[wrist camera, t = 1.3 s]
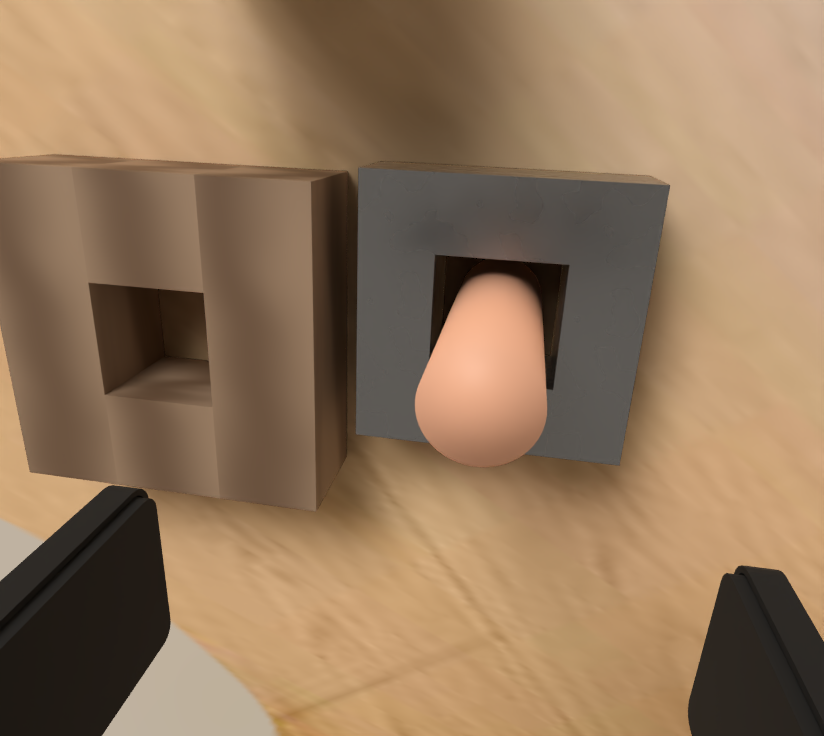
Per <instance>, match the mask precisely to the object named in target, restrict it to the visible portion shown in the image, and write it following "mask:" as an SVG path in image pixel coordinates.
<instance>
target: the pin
mask: <svg viewBox="0 0 824 736" xmlns="http://www.w3.org/2000/svg"><path fill="white" fill-rule="evenodd" d="M415 412H416V418H417V421H418V424H419V427H420V429H421V431H422V433H423V434H424V436H425V438H426V439H427V440H428V441H429V443H430V444H431V445H432V446H433V447H434V448H435V449H436V450H437V451H439V452H440V453H441V454H443V455H444V456H446V457H447V458H449V459H451V460H453V461H456V462H458V463H461V464H464V465H468V466H474V467H493V466H499V465H503V464H506V463H509V462H511V461H514V460H516V459H517V458H519V457H521V456H522V455H524V454H525V453H526V452H527V451H529V450H530V449H531V448H532V447H533V446H534V444H535V443H536V442H537V440H538V439H539V437H540V435H541V433H542V432H543V429H544V426H545V423H546V418H547V394H546V375H545V355H544V336H543V316H542V297H541V288H540V285H539V282H538V280H537V278H536V276H535V275H534V273H533V272H532V271H531V270H530V269H529V268H528V267H527V266H526V265H525V264H523V263H521V262H520V261H511V260H498V259H487V260H484V261H482V262H480V263H478V264H477V265H476V266H474V267H473V268H472V269H471V270H470V271H469V272H468V274H467V275H466V277H465V278H464V280H463V282H462V285H461V287H460V289H459V292H458V294H457V296H456V299H455V301H454V303H453V306H452V308H451V310H450V313H449V315H448V317H447V320H446V322H445V324H444V327H443V329H442V331H441V334H440V336H439V339H438V341H437V343H436V346H435V348H434V350H433V353H432V355H431V357H430V360H429V362H428V364H427V367H426V369H425V371H424V374H423V376H422V378H421V381H420V383H419V385H418V388H417V392H416V397H415Z"/></svg>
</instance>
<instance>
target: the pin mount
mask: <svg viewBox="0 0 824 736" xmlns="http://www.w3.org/2000/svg"><path fill="white" fill-rule="evenodd" d="M669 189H670V185H669V184H667V183H664V182H662V181H660V180H658V179H656V178H654V177H652V176H645V175H626V174H608V173H590V172H572V171H554V170H535V169H517V168H499V167H481V166H462V165H444V164H426V163H408V162H390V161H380V162H377V163H373V164H370V165H366V166H362V167H359V168H358V268H357V370H356V434H358V435H366V436H375V437H383V438H391V439H400V440H408V441H417V442H425V443H429V441H428V440H427V439H426V438H425V436H424V434H423V433H422V431H421V429H420V427H419V424H418V421H417V418H416V412H415V397H416V392H417V388H418V385H419V383H420V381H421V378H422V376H423V374H424V371H425V369H426V367H427V364H428V362H429V360H430V357H431V355H432V353H433V350H434V348H435V346H436V343H437V341H438V339H439V336H440V334H441V331H442V321H443V305H444V288H445V272H446V256H458V257H472V258H485V259H498V260H511V261H525V262H538V263H551V264H562V270H561V278H560V286H559V294H558V301H557V309H556V317H555V325H554V333H553V341H552V349H551V356H548V355H545V375H546V394H547V418H546V423H545V426H544V429H543V432H542V433H541V435H540V437H539V439H538V440H537V442H536V443H535V444H534V446H533V447H532V448H531V449H530V450H529V451H527V452H526V453H525V454H526V455H535V456H543V457H552V458H560V459H569V460H577V461H585V462H594V463H602V464H611V465H620V459H621V454H622V448H623V443H624V437H625V432H626V426H627V421H628V415H629V410H630V404H631V399H632V393H633V388H634V382H635V377H636V371H637V366H638V360H639V355H640V349H641V344H642V338H643V333H644V327H645V322H646V316H647V310H648V305H649V299H650V294H651V288H652V283H653V277H654V272H655V266H656V261H657V255H658V250H659V244H660V239H661V233H662V228H663V222H664V217H665V211H666V206H667V200H668V195H669Z"/></svg>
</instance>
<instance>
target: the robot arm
mask: <svg viewBox="0 0 824 736" xmlns="http://www.w3.org/2000/svg"><path fill="white" fill-rule="evenodd" d="M169 630H170V612H169V604H168V596H167V588H166V580H165V572H164V564H163V556H162V547H161V539H160V531H159V523H158V515H157V507H156V503H155V502H154V500H152V499H149V498H148V495H147V493H146V491H144V490H142V489H137V488H130V487H122V486H114V485H112V486H108V487H106V488H105V489H103V490H102V491H101V492H100V493H99V494H98V495H97V496H96V497H94V498H93V499H92V500H91V501H90V502H89V503H88V504H87V505H85V506H84V507H83V508H82V509H81V510H80V511H79V512H78V513H76V514H75V515H74V516H73V517H72V518H71V519H70V520H69V521H67V522H66V523H65V524H64V525H63V526H62V527H61V528H60V529H58V530H57V531H56V532H55V533H54V534H53V535H52V536H51V537H50V538H48V539H47V540H46V541H45V542H44V543H43V544H42V545H41V546H39V547H38V548H37V549H36V550H35V551H34V552H33V553H32V554H30V555H29V556H28V557H27V558H26V559H25V560H24V561H23V562H21V563H20V564H19V565H18V566H17V567H16V568H15V569H14V570H13V571H11V572H10V573H9V574H8V575H7V576H6V577H5V578H3V579H2V580H1V581H0V736H102V735H103V733H104V732H105V730H106V729H107V727H108V726H109V724H110V723H111V721H112V720H113V718H114V717H115V715H116V714H117V713H118V711H119V710H120V708H121V706H122V705H123V703H124V702H125V701H126V699H127V698H128V696H129V695H130V693H131V692H132V690H133V689H134V687H135V686H136V684H137V683H138V681H139V680H140V679H141V677H142V676H143V674H144V673H145V671H146V670H147V668H148V667H149V665H150V664H151V662H152V661H153V659H154V658H155V656H156V655H157V653H158V652H159V651H160V649H161V647H162V646H163V645H164V643H165V641H166V639H167V637H168V634H169ZM688 719H689V726H690V730H691V734H692V736H824V641H823V640H822V638H821V636H820V635H819V633H818V631H817V629H816V628H815V626H814V624H813V622H812V621H811V619H810V617H809V616H808V614H807V612H806V610H805V609H804V607H803V605H802V603H801V602H800V600H799V598H798V597H797V595H796V593H795V591H794V590H793V588H792V586H791V584H790V583H789V581H788V579H787V577H786V576H785V575H784V573H783V572H781V571H779V570H774V569H766V568H758V567H750V566H742V565H741V566H738V568H737V569H736V570H735V573H734V574H729V573H726V574H724V576H723V577H722V580H721V583H720V587H719V591H718V595H717V598H716V602H715V606H714V610H713V613H712V617H711V621H710V624H709V628H708V632H707V636H706V639H705V643H704V647H703V651H702V654H701V658H700V662H699V666H698V669H697V673H696V677H695V680H694V684H693V688H692V692H691V695H690V699H689V705H688Z"/></svg>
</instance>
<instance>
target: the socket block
mask: <svg viewBox="0 0 824 736" xmlns="http://www.w3.org/2000/svg"><path fill="white" fill-rule="evenodd" d="M347 185H348V171H333V170H315V169H298V168H281V167H263V166H246V165H229V164H211V163H194V162H177V161H159V160H142V159H125V158H107V157H90V156H73V155H55V154H53V155H40V156H26V157H12V158H0V326H1V331H2V336H3V341H4V346H5V351H6V356H7V361H8V366H9V371H10V376H11V381H12V386H13V390H14V395H15V400H16V405H17V410H18V415H19V420H20V425H21V430H22V435H23V440H24V445H25V450H26V455H27V460H28V465H29V470H30V472H32V473H39V474H47V475H54V476H61V477H69V478H76V479H83V480H90V481H98V482H105V483H112V484H119V485H127V486H134V487H141V488H148V489H156V490H163V491H170V492H177V493H185V494H192V495H199V496H206V497H214V498H221V499H228V500H235V501H243V502H250V503H257V504H265V505H272V506H279V507H286V508H294V509H301V510H308V511H315V512H316V511H317V509H318V508H319V506H320V504H321V502H322V500H323V499H324V497H325V495H326V493H327V491H328V489H329V488H330V486H331V484H332V482H333V480H334V479H335V477H336V475H337V473H338V471H339V469H340V468H341V466H342V464H343V462H344V460H345V459H346V444H347ZM158 289H166V290H177V291H188V292H199V293H203V294H204V306H205V319H206V331H207V344H208V356H209V361H206V360H196V359H187V358H177V357H168V356H165V353H164V343H163V334H162V324H161V315H160V306H159V296H158Z"/></svg>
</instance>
